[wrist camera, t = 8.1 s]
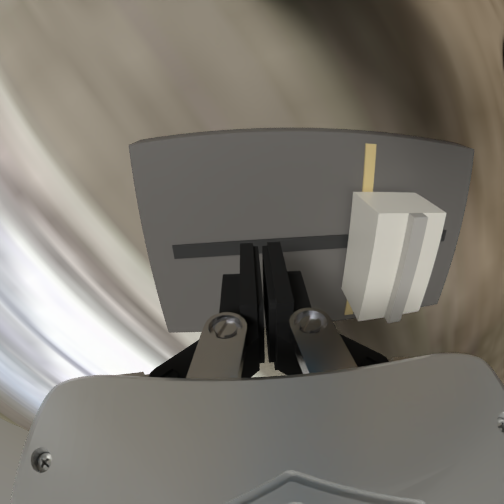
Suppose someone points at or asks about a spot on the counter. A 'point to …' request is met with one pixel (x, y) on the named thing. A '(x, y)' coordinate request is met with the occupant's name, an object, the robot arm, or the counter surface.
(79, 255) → the counter surface
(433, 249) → the fader knob
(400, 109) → the counter surface
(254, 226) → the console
